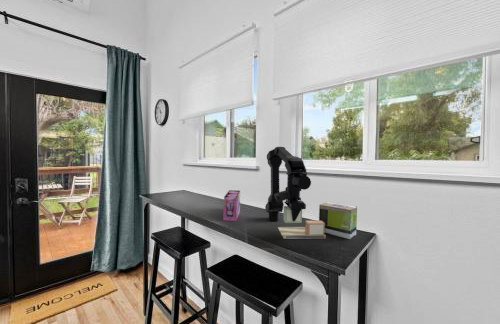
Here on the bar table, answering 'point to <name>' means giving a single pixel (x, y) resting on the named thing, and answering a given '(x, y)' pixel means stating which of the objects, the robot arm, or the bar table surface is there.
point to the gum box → (231, 205)
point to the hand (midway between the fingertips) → (292, 219)
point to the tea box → (339, 219)
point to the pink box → (314, 228)
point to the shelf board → (297, 233)
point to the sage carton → (288, 216)
